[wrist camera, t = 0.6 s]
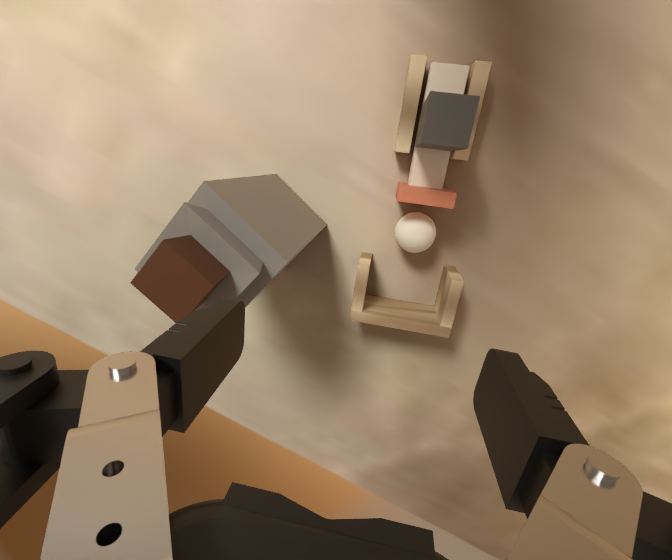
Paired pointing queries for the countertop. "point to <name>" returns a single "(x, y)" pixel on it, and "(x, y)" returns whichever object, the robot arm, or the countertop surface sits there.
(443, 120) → the gray block
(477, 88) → the rail guide
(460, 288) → the box
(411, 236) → the ball
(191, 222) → the perfume bottle
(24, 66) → the countertop surface
